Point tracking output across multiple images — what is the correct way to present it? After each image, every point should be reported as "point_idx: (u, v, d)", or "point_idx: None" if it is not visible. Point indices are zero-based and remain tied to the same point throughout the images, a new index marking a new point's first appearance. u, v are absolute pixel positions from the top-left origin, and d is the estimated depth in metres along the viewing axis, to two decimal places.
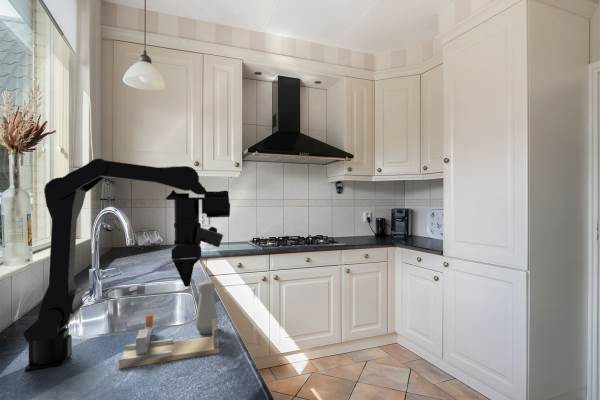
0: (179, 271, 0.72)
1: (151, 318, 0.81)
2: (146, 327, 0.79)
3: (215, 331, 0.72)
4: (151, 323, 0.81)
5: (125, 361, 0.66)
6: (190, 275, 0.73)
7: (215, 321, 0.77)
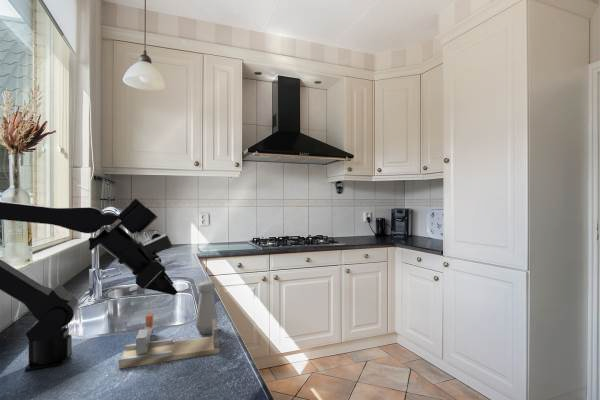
0: (158, 290, 0.73)
1: (151, 318, 0.81)
2: (146, 327, 0.79)
3: (215, 331, 0.72)
4: (151, 323, 0.81)
5: (125, 361, 0.66)
6: (170, 285, 0.75)
7: (215, 321, 0.77)
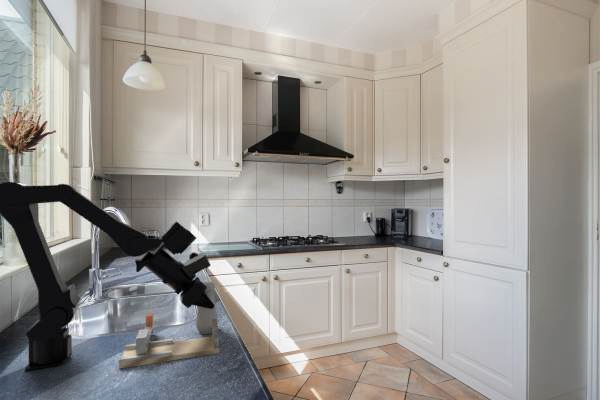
0: (199, 305, 0.80)
1: (151, 318, 0.81)
2: (146, 327, 0.79)
3: (215, 331, 0.72)
4: (151, 323, 0.81)
5: (125, 361, 0.66)
6: (208, 300, 0.82)
7: (215, 321, 0.77)
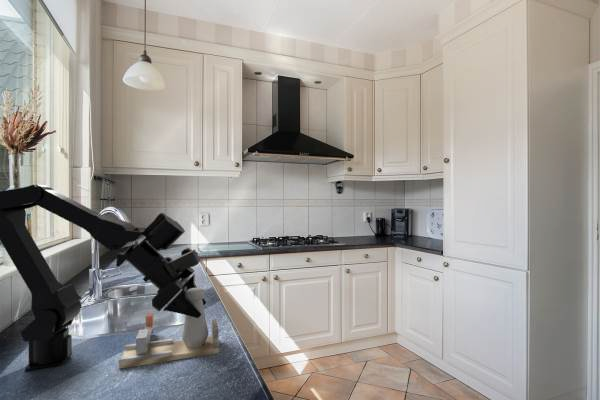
0: (180, 312, 0.68)
1: (151, 318, 0.81)
2: (146, 327, 0.79)
3: (215, 331, 0.72)
4: (151, 323, 0.81)
5: (125, 361, 0.66)
6: (192, 307, 0.69)
7: (215, 321, 0.77)
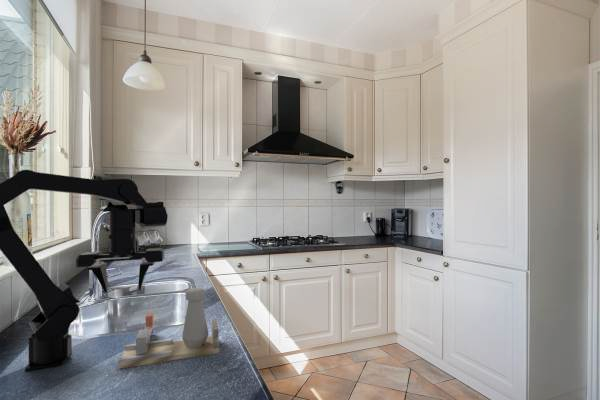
0: (144, 275, 0.80)
1: (151, 318, 0.81)
2: (146, 327, 0.79)
3: (215, 331, 0.72)
4: (151, 323, 0.81)
5: (125, 361, 0.66)
6: None
7: (215, 321, 0.77)
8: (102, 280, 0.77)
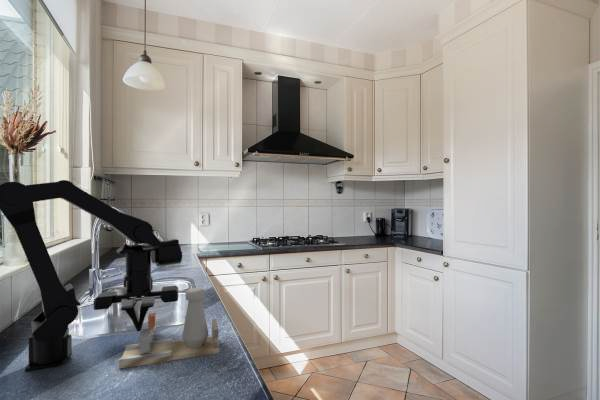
0: (144, 316, 0.80)
1: (153, 318, 0.81)
2: (149, 327, 0.79)
3: (215, 331, 0.72)
4: (153, 323, 0.81)
5: (125, 361, 0.66)
6: (144, 318, 0.82)
7: (215, 321, 0.77)
8: (135, 319, 0.79)
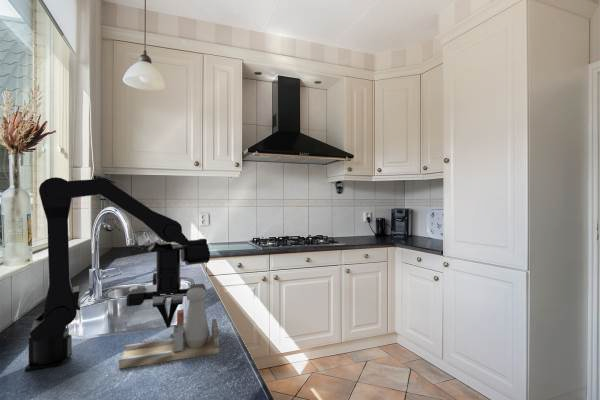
0: None
1: (182, 314, 0.83)
2: (178, 323, 0.81)
3: (215, 331, 0.72)
4: (182, 319, 0.83)
5: (125, 361, 0.66)
6: None
7: (215, 321, 0.77)
8: (165, 316, 0.81)
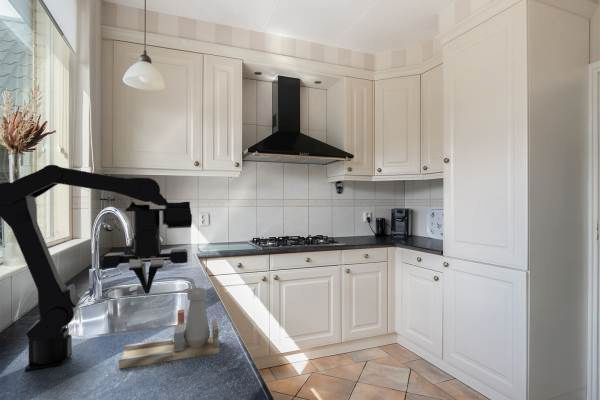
0: (153, 278, 0.77)
1: (183, 314, 0.83)
2: (178, 323, 0.81)
3: (215, 331, 0.72)
4: (183, 319, 0.83)
5: (125, 361, 0.66)
6: None
7: (215, 321, 0.77)
8: (143, 280, 0.76)
